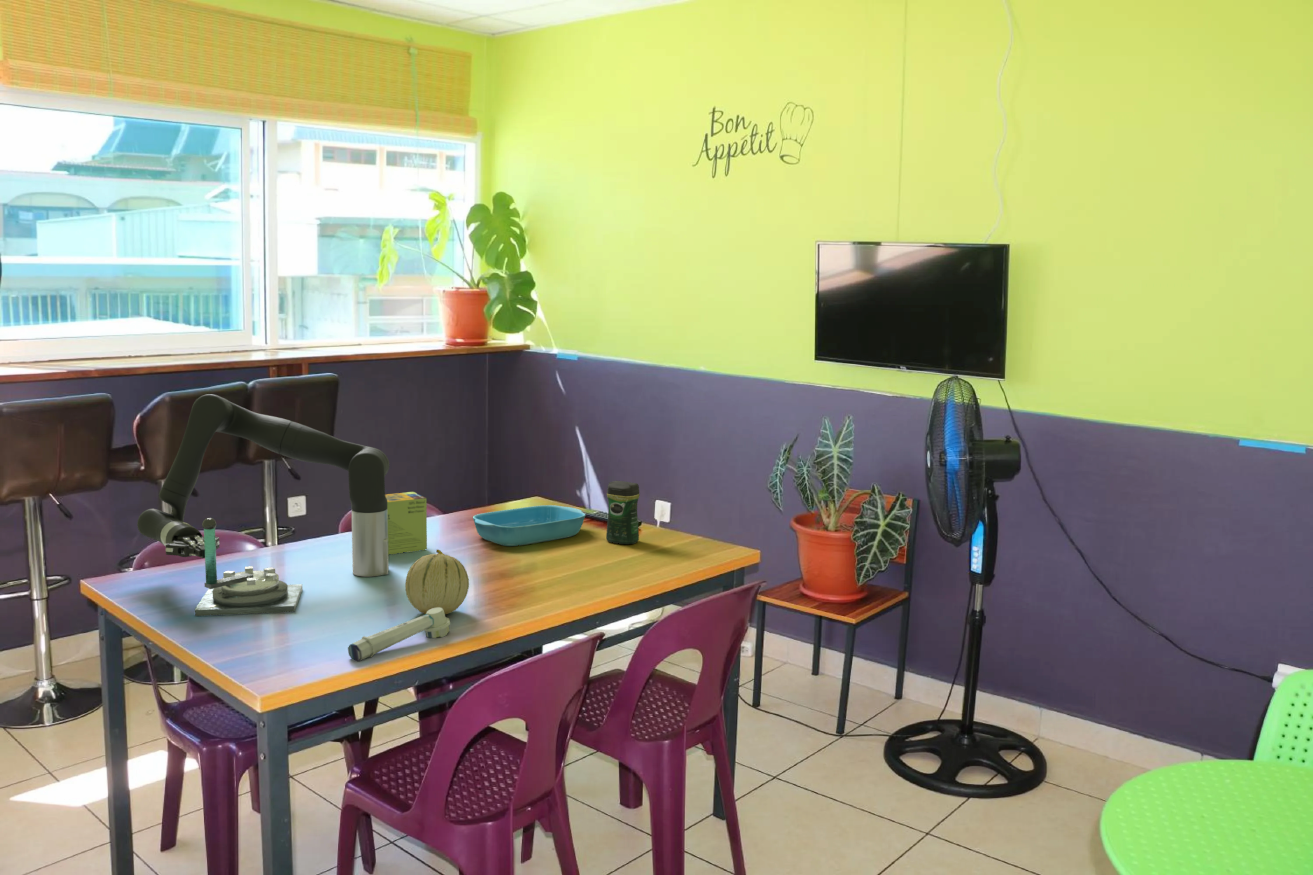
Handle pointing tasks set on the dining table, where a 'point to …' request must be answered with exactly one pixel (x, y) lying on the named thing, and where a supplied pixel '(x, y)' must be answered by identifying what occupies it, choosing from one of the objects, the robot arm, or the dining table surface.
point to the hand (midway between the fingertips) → (205, 553)
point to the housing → (250, 602)
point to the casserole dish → (529, 524)
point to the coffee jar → (622, 512)
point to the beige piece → (401, 634)
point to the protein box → (406, 522)
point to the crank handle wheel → (231, 581)
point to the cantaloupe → (437, 583)
